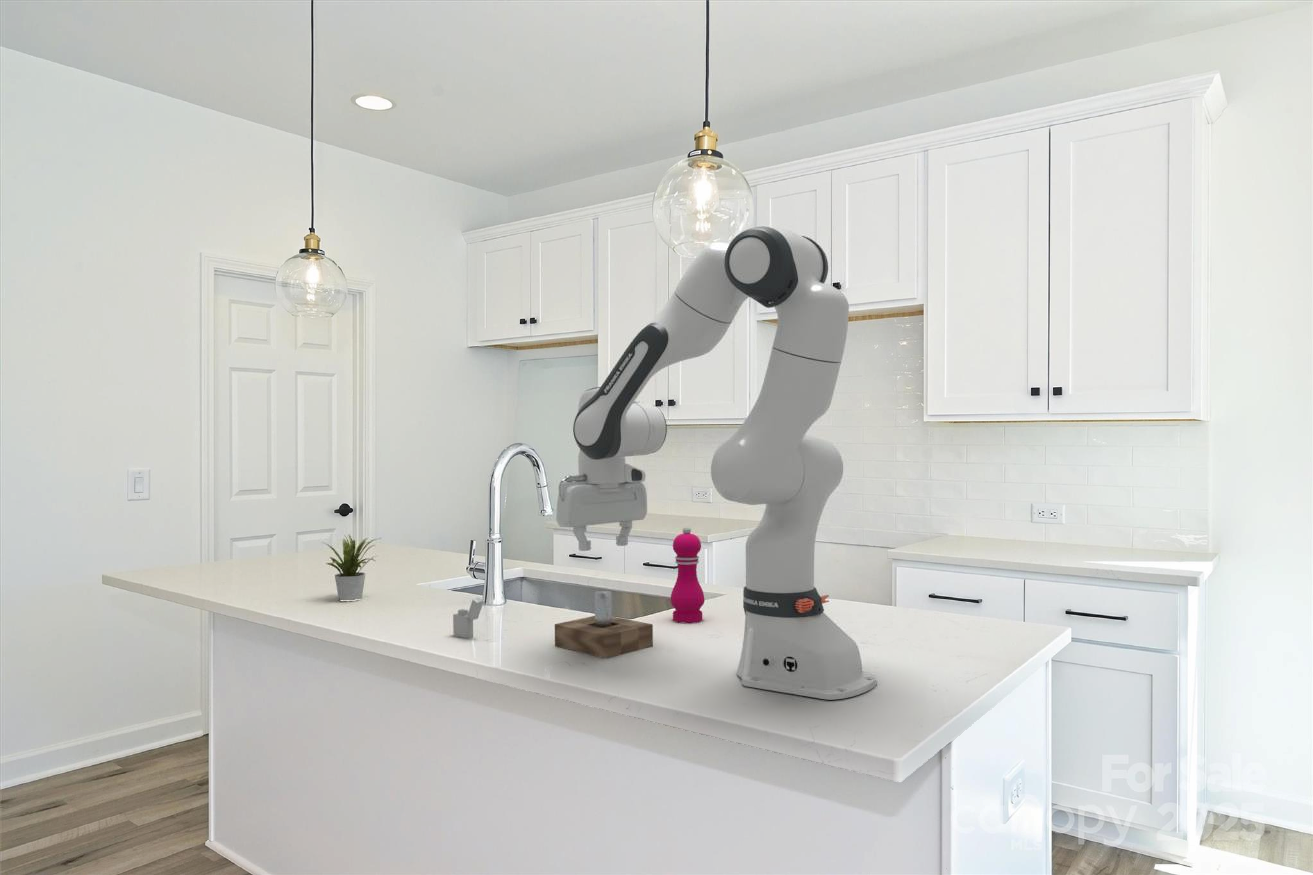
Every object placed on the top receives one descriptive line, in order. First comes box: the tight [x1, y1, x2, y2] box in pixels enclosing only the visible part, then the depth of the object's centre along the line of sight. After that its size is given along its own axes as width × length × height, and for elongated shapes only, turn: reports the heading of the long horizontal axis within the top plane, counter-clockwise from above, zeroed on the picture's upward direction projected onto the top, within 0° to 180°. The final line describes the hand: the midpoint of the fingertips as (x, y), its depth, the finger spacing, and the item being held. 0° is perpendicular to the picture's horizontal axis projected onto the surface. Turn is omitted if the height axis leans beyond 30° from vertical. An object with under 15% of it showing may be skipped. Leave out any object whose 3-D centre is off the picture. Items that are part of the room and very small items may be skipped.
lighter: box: [452, 597, 484, 640], centre depth 169 cm, size 7×2×8 cm, turn 55°
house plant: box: [321, 533, 382, 600], centre depth 209 cm, size 14×14×16 cm
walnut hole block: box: [554, 615, 654, 659], centre depth 161 cm, size 14×12×4 cm
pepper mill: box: [670, 525, 706, 624], centre depth 182 cm, size 7×7×20 cm
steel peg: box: [594, 590, 613, 628], centre depth 161 cm, size 3×3×10 cm
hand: (603, 547), depth 160 cm, fingers open, 8 cm apart
